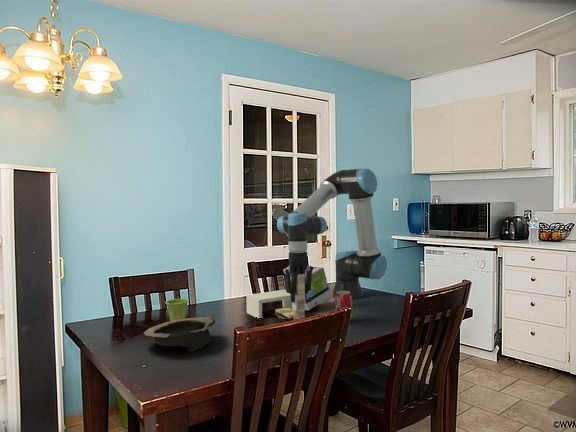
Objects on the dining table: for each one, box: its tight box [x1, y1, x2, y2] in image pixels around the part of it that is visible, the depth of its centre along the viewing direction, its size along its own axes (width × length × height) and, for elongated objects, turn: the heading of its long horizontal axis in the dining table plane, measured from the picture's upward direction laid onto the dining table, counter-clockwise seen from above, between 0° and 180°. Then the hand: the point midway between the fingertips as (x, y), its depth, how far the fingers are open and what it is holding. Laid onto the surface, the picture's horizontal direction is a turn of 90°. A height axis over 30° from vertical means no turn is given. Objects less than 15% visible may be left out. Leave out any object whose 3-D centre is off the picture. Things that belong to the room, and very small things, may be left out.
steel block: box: [276, 314, 290, 320], centre depth 188 cm, size 6×6×1 cm
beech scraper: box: [274, 274, 306, 320], centre depth 183 cm, size 16×6×20 cm, turn 31°
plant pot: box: [165, 298, 189, 322], centre depth 185 cm, size 9×9×9 cm
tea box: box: [290, 266, 332, 311], centre depth 202 cm, size 15×10×15 cm, turn 130°
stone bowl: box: [143, 315, 216, 353], centre depth 155 cm, size 25×25×9 cm
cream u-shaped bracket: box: [245, 289, 292, 319], centre depth 197 cm, size 20×12×8 cm, turn 121°
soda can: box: [334, 291, 353, 322], centre depth 181 cm, size 7×7×12 cm
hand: (298, 309), depth 178 cm, fingers closed on beech scraper, 3 cm apart
